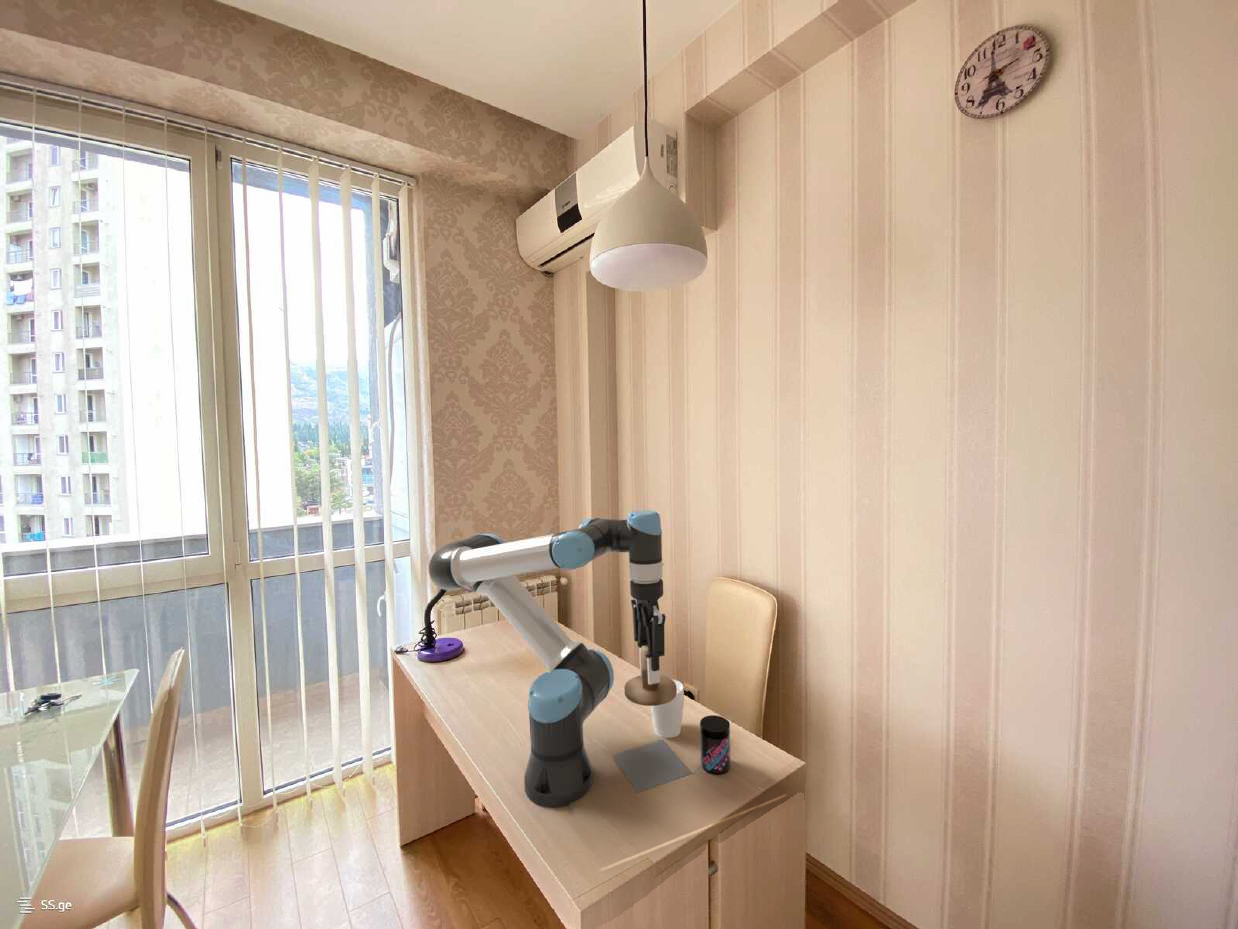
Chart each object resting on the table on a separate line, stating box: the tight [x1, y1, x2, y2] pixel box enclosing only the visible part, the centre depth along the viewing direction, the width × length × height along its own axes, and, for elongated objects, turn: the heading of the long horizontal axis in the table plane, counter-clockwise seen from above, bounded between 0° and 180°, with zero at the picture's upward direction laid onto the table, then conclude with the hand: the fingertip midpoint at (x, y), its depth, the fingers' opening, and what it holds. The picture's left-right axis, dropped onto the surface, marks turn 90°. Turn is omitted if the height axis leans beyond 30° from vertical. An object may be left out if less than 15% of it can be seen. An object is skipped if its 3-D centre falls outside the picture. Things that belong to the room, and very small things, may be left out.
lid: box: [623, 644, 677, 707], centre depth 117 cm, size 12×12×10 cm
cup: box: [649, 678, 685, 739], centre depth 131 cm, size 9×9×12 cm
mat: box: [611, 739, 693, 794], centre depth 118 cm, size 14×14×1 cm
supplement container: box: [699, 714, 731, 776], centre depth 116 cm, size 7×7×10 cm
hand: (649, 678), depth 117 cm, fingers closed on lid, 4 cm apart
